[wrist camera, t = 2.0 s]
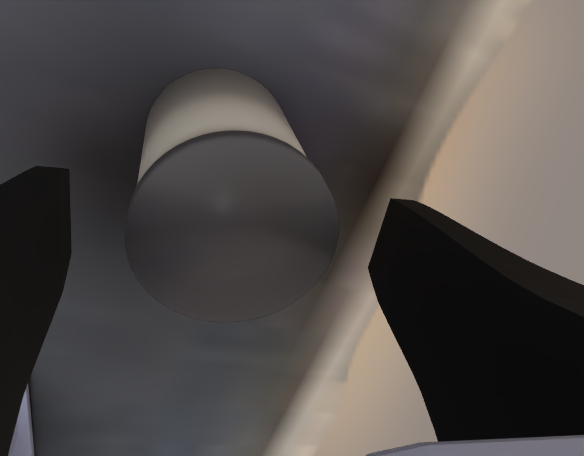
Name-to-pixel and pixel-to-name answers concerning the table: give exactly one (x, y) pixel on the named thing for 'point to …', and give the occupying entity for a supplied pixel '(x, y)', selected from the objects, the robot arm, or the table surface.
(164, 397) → the table surface
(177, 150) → the lens
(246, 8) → the table surface
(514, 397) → the robot arm
